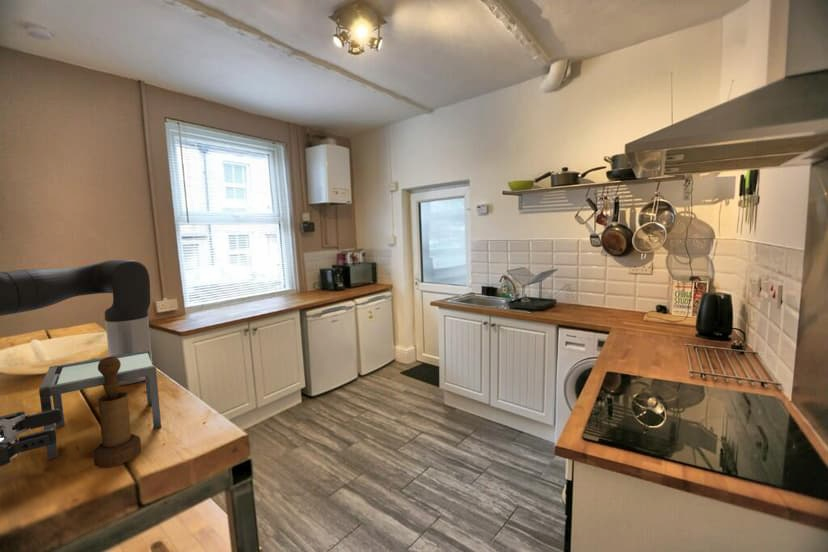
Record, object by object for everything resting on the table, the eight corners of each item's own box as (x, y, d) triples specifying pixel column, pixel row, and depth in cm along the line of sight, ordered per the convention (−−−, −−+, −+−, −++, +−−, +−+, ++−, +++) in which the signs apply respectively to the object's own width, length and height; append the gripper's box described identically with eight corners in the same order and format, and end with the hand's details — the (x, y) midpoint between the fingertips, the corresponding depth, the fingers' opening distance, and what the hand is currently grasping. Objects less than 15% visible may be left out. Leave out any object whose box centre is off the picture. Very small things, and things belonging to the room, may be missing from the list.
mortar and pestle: (150, 449, 66) (141, 353, 64) (112, 471, 59) (101, 365, 58) (123, 444, 67) (114, 351, 66) (84, 465, 61) (72, 362, 60)
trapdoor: (63, 372, 73) (62, 367, 73) (148, 357, 82) (147, 352, 82) (57, 390, 64) (56, 385, 64) (153, 371, 73) (152, 366, 73)
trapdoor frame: (56, 426, 75) (49, 366, 73) (153, 402, 85) (149, 349, 84) (47, 459, 63) (39, 389, 62) (161, 427, 73) (155, 366, 72)
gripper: (-86, 468, 53) (65, 429, 64) (-136, 525, 42) (56, 467, 53) (-95, 420, 52) (60, 388, 63) (-148, 466, 42) (50, 418, 52)
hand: (58, 424), depth 58 cm, fingers open, 8 cm apart
